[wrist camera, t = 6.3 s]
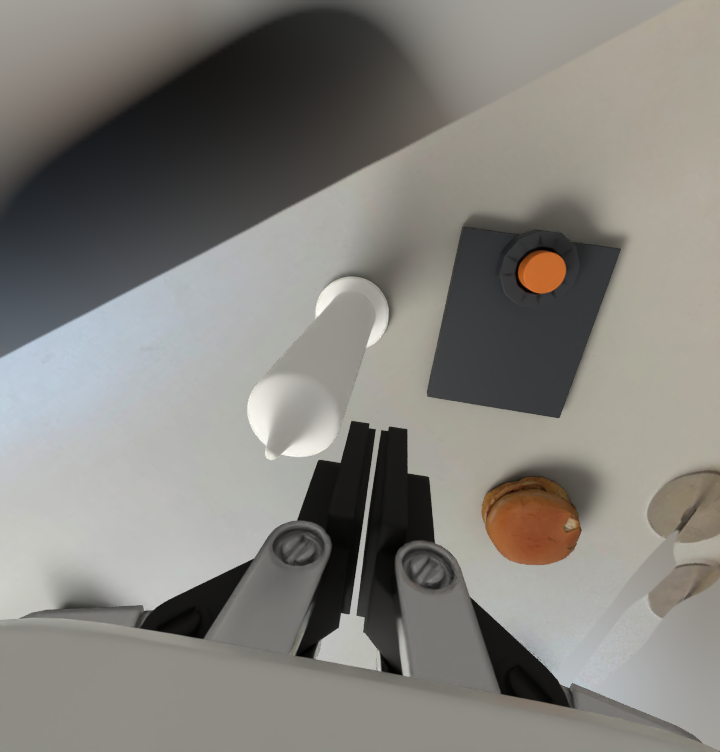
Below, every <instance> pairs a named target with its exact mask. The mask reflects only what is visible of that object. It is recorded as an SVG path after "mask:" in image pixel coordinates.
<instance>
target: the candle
mask: <svg viewBox="0 0 720 752" xmlns="http://www.w3.org/2000/svg"><path fill="white" fill-rule="evenodd" d="M388 320H389V307H388V303H387V300H386V298H385V296H384V294H383V293H382V291H381V290H380V289H379V288H378V287H377V286H376V285H375V284H373V283H372V282H370V281H368V280H366V279H364V278H360V277H354V276H349V277H343V278H340V279H337V280H335V281H333V282H332V283H330V284H329V285H328V286H327V287H326V288H325V289H324V290H323V291H322V293H321V294H320V296H319V298H318V301H317V304H316V319H315V320H314V321H313V323H312V324H311V325H310V326H309V327H308V328H307V329H306V330H305V331H304V332H303V334H302V335H301V336H300V337H299V338H298V339H297V340H296V341H295V342H294V343H293V345H292V346H291V347H290V348H289V349H288V350H287V351H286V352H285V353H284V354H283V356H282V357H281V358H280V359H279V360H278V361H277V362H276V363H275V364H274V365H273V367H272V368H271V369H270V370H269V371H268V372H267V373H266V374H265V375H264V376H263V378H262V379H261V380H260V381H259V382H258V383H257V384H256V385H255V387H254V388H253V390H252V392H251V394H250V397H249V400H248V406H247V413H248V419H249V422H250V425H251V427H252V429H253V431H254V433H255V434H256V436H257V437H258V438H259V439H260V440H261V441H262V442H263V443H264V444H265V445H266V451H265V455H266V457H267V458H268V459H269V460H275V459H277V458H278V457H279V456H280V455H281V454H283V455H287V456H292V457H306V456H311V455H315V454H317V453H319V452H321V451H323V450H325V449H326V448H327V447H328V446H329V445H330V444H331V443H332V442H333V441H334V440H335V438H336V437H337V435H338V433H339V430H340V427H341V424H342V421H343V418H344V415H345V412H346V409H347V406H348V402H349V399H350V396H351V393H352V390H353V387H354V384H355V381H356V378H357V374H358V371H359V368H360V365H361V362H362V359H363V356H364V353H365V349H366V348H367V347H369V346H371V345H373V344H374V343H376V342H377V341H378V340H379V339H380V338H381V337H382V335H383V334H384V332H385V330H386V328H387V325H388Z"/></svg>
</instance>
